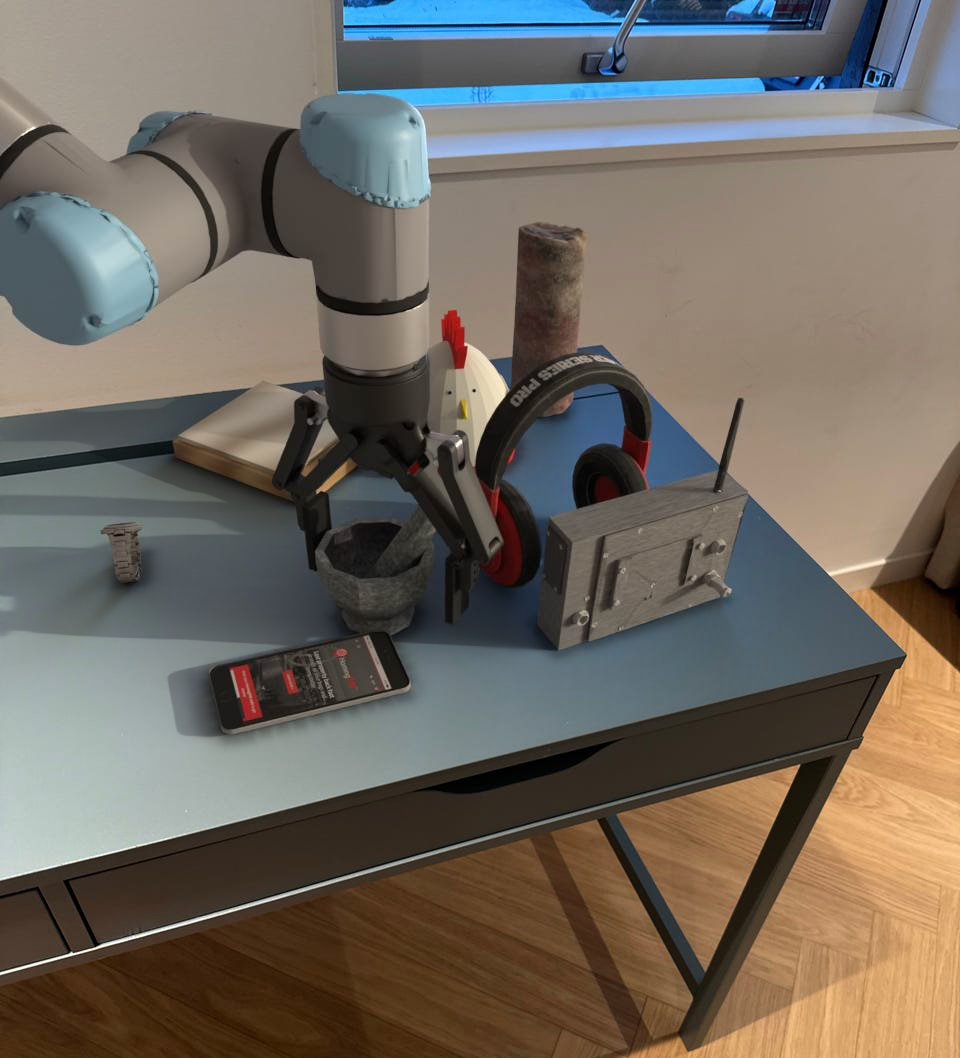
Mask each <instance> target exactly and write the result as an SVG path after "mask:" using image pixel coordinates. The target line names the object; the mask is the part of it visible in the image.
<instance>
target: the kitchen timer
mask: <svg viewBox="0 0 960 1058" xmlns="http://www.w3.org/2000/svg"><path fill="white" fill-rule="evenodd" d="M443 315H444V316H443V318H441V319H440V324H441V338H442V339H441V340H442V341H440V342H438V343H436V344H433V345H431V346H429V349H428V351H427V354H428V355H429V358H430V403H429V409H428V415H427V418H428V422H429V425H430V427H431V429H432V431H433V432H435V433H440V434H445V435H452V434H453V433H454V432H455V431H457V430H462V431H464V432H465V433H466V434H467V436H468V440H469V452H470V461H471V463H472V465H473V468H474V470H475V459H476V452H477V449H478V446H479V442H480V439H481V436H482V434H483V432H484V429H485V427H486V425H487V423H488V421H489V419H490V417H491V416H492V414H493V412H494V411H495V409H496V408H497V406H498V405H499V404H500V402H501V401H502V400H503V398H504V397H505V396H506V394H507V393H508V392H509V391H510V390H511V389H509V387H508V385H507V383H506V380H505V379H504V377H503V376H502V375H503V374H501V373H499V372H498V370H497V368H496V367H495V366H494V365H493V363H492V362H491V361H490V360H489V359H488V357H486V355H485V354H484V353H483V352H482V351H480V350H479V349H478V348H476V347H475V346H473V345H472V344H469V343H468V342H465V340H466V339H465V335H466V332H465V331H466V329H465V326H461V325H462V324H461V316H458V309H451V310H447V313H444V314H443ZM428 451H429V450H428ZM515 451H516V448H515V449H514V451H513V453H512V455H511V457H510V459H509V462H508V464H510V463H511V461H512V460H513V457H514V454H515ZM429 452H430V451H429ZM430 454H431V455H432V457H433V458H434V455H433V454H432V453H431V452H430ZM434 459H435V458H434ZM418 470H419V465H418V463H417V462H415V464H414V465H413V466H412V467H411V468H410V469H409V471H410V472H411V474H412V475H413V474H414V473H415V472H417V471H418ZM437 471H438V474H439V475H440V471H439V467H438V470H437ZM475 471H476V470H475ZM440 477H441V475H440Z"/></svg>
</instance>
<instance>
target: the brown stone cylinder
mask: <svg viewBox="0 0 960 1058" xmlns="http://www.w3.org/2000/svg"><path fill="white" fill-rule="evenodd" d="M517 234H518V236H517V257H516V258H517V259H516V281H515V303H514V319H513V320H514V321H513V322H514V323H513V324H514V325H513V335H512V336H513V337H512V338H513V339H512V353H511V354H512V355H511V377H510V379H511V381H510V390H511V389H512V388H513V387H514V386H515V385H516V384H517V383H518V382H519V381H520V380H521V379H522V378H524V377H525V376H526V375H527V374H529V373H530V372H531V371H533V370H534V369H535V368H537V367H538V366H540V365H542V364H544V363H546V362H548V361H550V360H551V359H554V358H557V357H560V356H563V355H566V354H571V353H577V352H578V342H579V341H578V340H579V329H580V320H581V319H580V318H581V305H582V295H583V283H584V273H585V263H586V262H585V261H586V251H587V250H586V249H587V239H588V234H587V231H586V229H584V228H583V227H581V226H576V227H573V226H572V227H571V226H568V225H562V226H561V225H558V224H553V223H550V222H547V221H546V222H545V221H537V222H532V223H527V224H524V225H521V226H519V227H518V233H517ZM574 392H575V391H574ZM574 392H572V393H570V394H568V395H566V396H565V397H563V398H561V399H560V400H559V401H557V402H556V403H555V404H553V405H552V406H550V407H549V408H548V409H547V410H546V411H545V412H544V413H542V414H541V415H540V416H539V417H538V418H547V417H551V416H553V415H559V414H563V413H564V412H565V411H566V410H567V409H568V407H569V406H570V405H571V404H572V402H573V401H574Z"/></svg>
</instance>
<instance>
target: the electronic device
mask: <svg viewBox="0 0 960 1058" xmlns="http://www.w3.org/2000/svg"><path fill="white" fill-rule="evenodd" d="M744 404H745V399H744V398H743V397H738V398H737V401H736V403H735V406H734V410H733V414H732V417H731V418H732V419H731V421H730V425H729V428H728V432H727V434H726V435H727V436H726V439H725V442H724V443H725V444H724V446H723V451H722V454H721V458H720V461H719V465H718V469H715V470H712V471H708V472H705V473H701V474H698V475H695V476H691V477H687V478H683V479H680V480H676V481H673V482H669V483H666V484H662V485H659V486H655V487H650V488H649V489H647V490H644V491H640V492H636V493H633V494H629V495H626V496H622V497H618V498H615V499H611V500H608V501H604V502H600V503H597V504H593V505H590V506H586V507H582V508H579V509H577V508H576V509H572V510H569V511H565V512H561V513H558V514H554V515H550V516H548V520H547V529H546V535H545V544H544V545H545V547H544V554H543V563H542V572H541V573H542V574H541V584H540V594H539V601H538V602H539V603H538V612H537V621H536V624H537V626H538V627H539V629H540V630H541V631H542V633H544V635H545V636H546V637H547V638H548V640H549V641H550V643H552V645H553V646H554V647H555V648H556V649H557V651H561V650H563V649H568V648H571V647H573V646H576V645H578V644H582V643H584V642H588V643H589V642H592V641H595V640H598V639H602V638H604V637H607V636H610V635H613V634H616V633H619V632H622V631H625V630H628V629H630V628H634V627H636V626H639V625H642V624H643V625H644V624H645V623H649V622H651V621H655V620H657V619H661V618H663V617H666V616H669V615H672V614H675V613H678V612H681V611H683V610H686V609H690V608H692V607H695V606H698V605H702V604H705V603H707V602H710V601H713V600H717V599H720V598H727V597H729V596H730V595H731V593H732V591H733V590H732V588H730V587H729V586H728V585H727V584H726V583H725V580H726V576H727V573H728V570H729V567H730V562H731V558H732V555H733V551H734V548H735V544H736V542H737V539H738V534H739V530H740V528H741V524H742V520H743V517H744V513H745V508H746V506H747V503H748V499H749V495H748V493H749V490H748V489H746V488H745V487H744V486H742V484H740V483H739V482H738V481H736V480H735V479H734V478H733V477H732V476H730V475H729V474H728V470H729V467H730V462H731V458H732V454H733V450H734V446H735V443H736V438H737V433H738V429H739V425H740V421H741V416H742V412H743V408H744Z"/></svg>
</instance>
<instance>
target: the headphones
mask: <svg viewBox="0 0 960 1058" xmlns="http://www.w3.org/2000/svg"><path fill="white" fill-rule="evenodd" d="M595 385H609V386H611V387H613V388H614V389H615V390H616V391H617V392H618V395H619V398H620V401H621V408H622V413H623V419H624V420H623V421H624V426H623V432H622V433H623V435H622V441H621V446H618V445H616V444H613V443H607V442H604V443H603V442H602V443H598V444H595V445H591V446H589V447H588V448H586V449H584V451H583V452H582V453H581V454H580V455H579V457H578V458H577V461H576V463H575V465H574V469H573V473H572V484H571V486H572V488H571V489H572V494H573V500H574V504H575V508H576V509H579V508H582V507H586V506H590V505H593V504H597V503H600V502H604V501H608V500H611V499H615V498H618V497H622V496H626V495H629V494H633V493H636V492H640V491H644V490H647V489H650V486H649V483H648V480H647V478H646V476H645V475H646V471H647V468H648V464H649V459H650V453H651V447H652V439H651V438H650V437H651V434H652V429H653V410H652V401H651V399H650V396H649V395H650V394H649V393H648V391H647V389H646V387H645V385H644V384H643V383H642V382H641V380H640V379H639V378H638V377H637V376H636V375H635V374H634V373H632V372H631V371H629V370H628V369H626V368H625V367H624V366H622V365H621V364H619V363H618V362H616V361H614V360H613V359H611V358H610V357H608V356H607V355H604V354H600V353H598V352H594V351H577V353H571V354H566V355H563V356H560V357H557V358H554V359H551V360H550V361H548V362H546V363H544V364H542V365H540V366H538V367H537V368H535V369H534V370H533V371H531V372H530V373H529V374H527V375H526V376H525V377H524V378H522V379H521V380H520V381H519V382H518V383H517V384H516V385H515V386H514V387H513V388H512V389H511V388H510V389H509V390H510V391H509V392H508V393H507V394H506V396H505V397H504V398H503V400H502V401H501V402H500V404H499V405H498V406H497V408H496V409H495V411H494V412H493V414H492V416H491V417H490V419H489V421H488V423H487V425H486V427H485V429H484V432H483V434H482V436H481V439H480V442H479V446H478V449H477V452H476V459H475V470H476V471H475V473H476V475H477V478H478V480H479V482H480V485H481V487H482V490H483V492H484V495H485V497H486V499H487V502H488V504H489V507H490V509H491V511H492V514H493V516H494V519H495V521H496V524H497V526H498V528H499V531H500V533H501V536H502V538H503V541H504V545H503V546H502V547H501V548H500V550H499V551H498V552H497V553H496V554H495V555H494V556H493V558H492V559H491V560H490V561H489V562H488V563H487V564H482V563H480V562H479V569H481V570H482V571H483V572H484V574H485V575H486V576H487V577H488V578H490V579H491V580H492V581H493V582H496V583H497V584H498V585H500V586H502V587H505V588H507V589H515V588H522V587H523V586H525V585H527V584H528V583H529V582H531V581H533V580H534V578H535V577H536V575H537V574H538V571H539V569H540V565H541V563H542V553H543V551H542V549H543V548H542V547H543V545H542V539H541V533H540V529H539V525H538V523H537V518H536V516H535V514H534V512H533V510H532V507H531V506H530V504H529V502H528V501H527V499H526V497H525V495H524V494H523V493H522V492H520V490H519V489H518V488H517V487H516V486H515V485H513V484H512V483H510V482H509V481H507V480H505V479H503V476H504V474H505V472H506V470H507V467H508V464H509V463H510V462H509V459H510V457H511V455H512V453H513V451H514V449H515V450H516V447H517V445H518V444H519V442H520V440H521V439H522V438H523V436H524V435H525V433H526V432H527V431H528V430H529V429H530V428H531V426H533V424H534V423H535V422H536V421H537V419H538V418H540V417H539V416H540V415H541V414H542V413H544V412H545V411H546V410H547V409H548V408H549V407H550V406H552V405H553V404H555V403H556V402H557V401H559V400H560V399H561V398H563V397H565V396H566V395H568V394H570V393H572V392H575V391H578V390H581V389H584V388H586V387H589V386H595ZM514 452H515V451H514ZM508 462H509V463H508Z"/></svg>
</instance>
